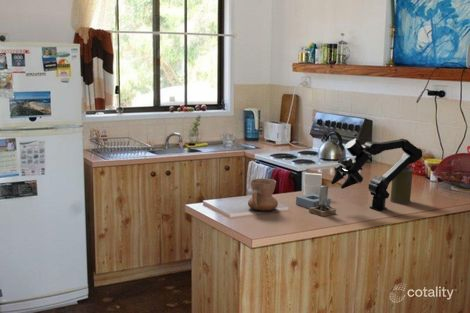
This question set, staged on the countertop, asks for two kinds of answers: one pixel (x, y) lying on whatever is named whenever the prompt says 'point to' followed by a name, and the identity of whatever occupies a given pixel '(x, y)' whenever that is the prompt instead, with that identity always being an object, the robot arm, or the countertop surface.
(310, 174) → the off-white rectangular block
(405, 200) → the canister
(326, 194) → the cylinder
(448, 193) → the countertop surface
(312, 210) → the square wooden frame
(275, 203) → the ceramic jug
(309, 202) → the slate-blue hub block
